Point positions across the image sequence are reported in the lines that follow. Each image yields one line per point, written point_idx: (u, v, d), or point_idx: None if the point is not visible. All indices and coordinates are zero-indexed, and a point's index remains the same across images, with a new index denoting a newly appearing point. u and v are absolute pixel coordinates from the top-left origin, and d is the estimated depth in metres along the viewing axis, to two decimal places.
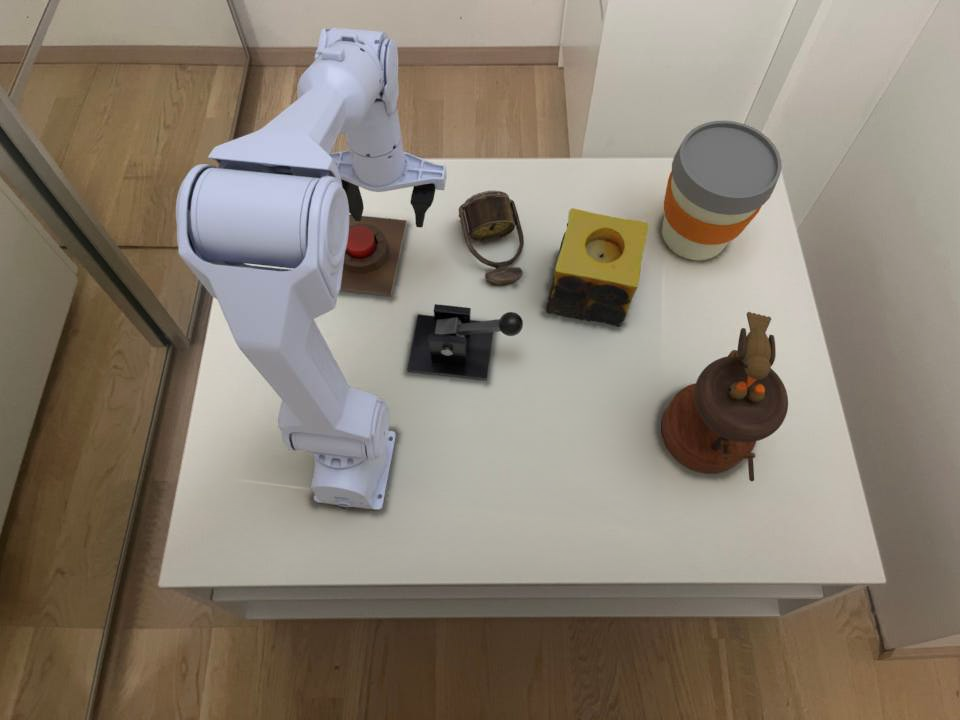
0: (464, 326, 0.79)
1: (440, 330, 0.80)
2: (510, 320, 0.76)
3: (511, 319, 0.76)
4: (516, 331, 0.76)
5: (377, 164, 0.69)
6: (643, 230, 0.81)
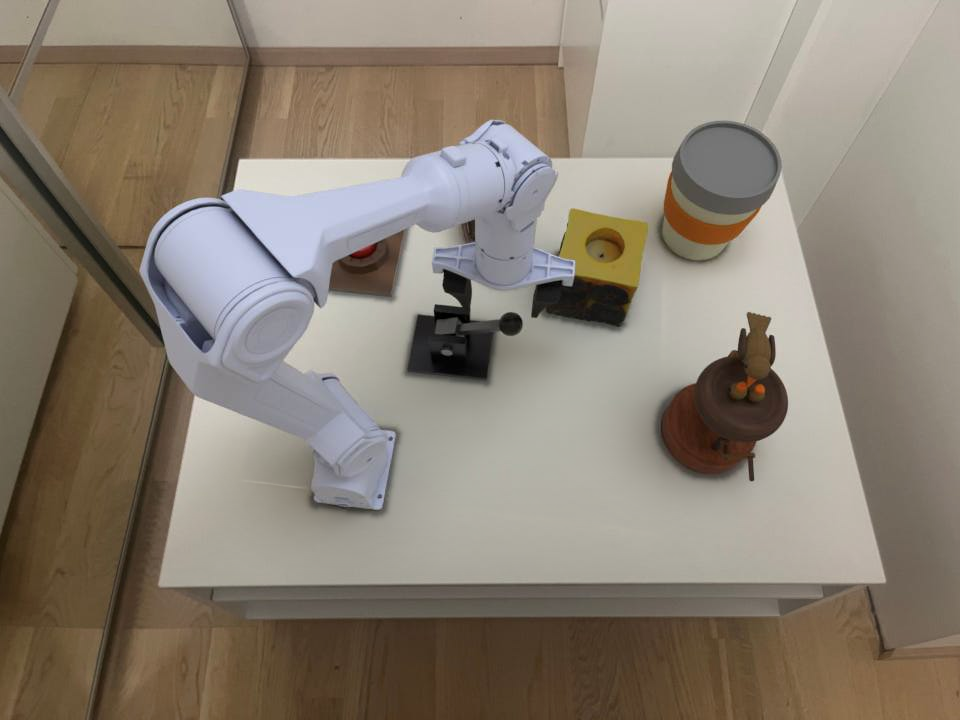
0: (464, 326, 0.79)
1: (440, 330, 0.80)
2: (510, 320, 0.76)
3: (511, 319, 0.76)
4: (516, 331, 0.76)
5: (509, 266, 0.63)
6: (643, 230, 0.81)
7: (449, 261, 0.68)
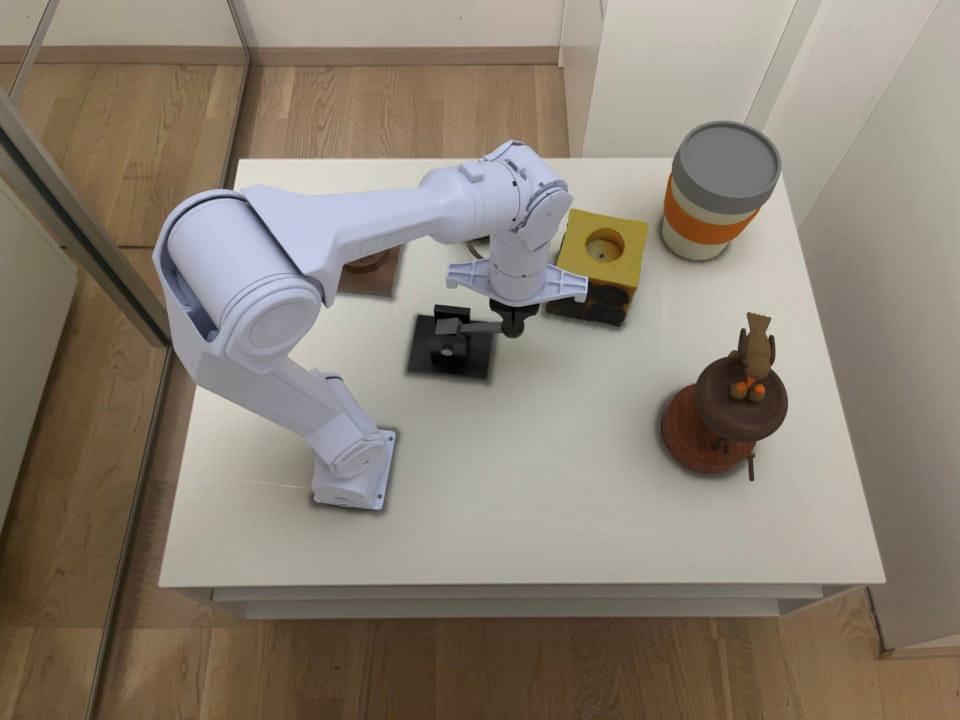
0: (465, 327, 0.80)
1: (441, 330, 0.80)
2: None
3: None
4: (518, 334, 0.77)
5: (523, 283, 0.64)
6: (643, 230, 0.81)
7: (463, 277, 0.69)
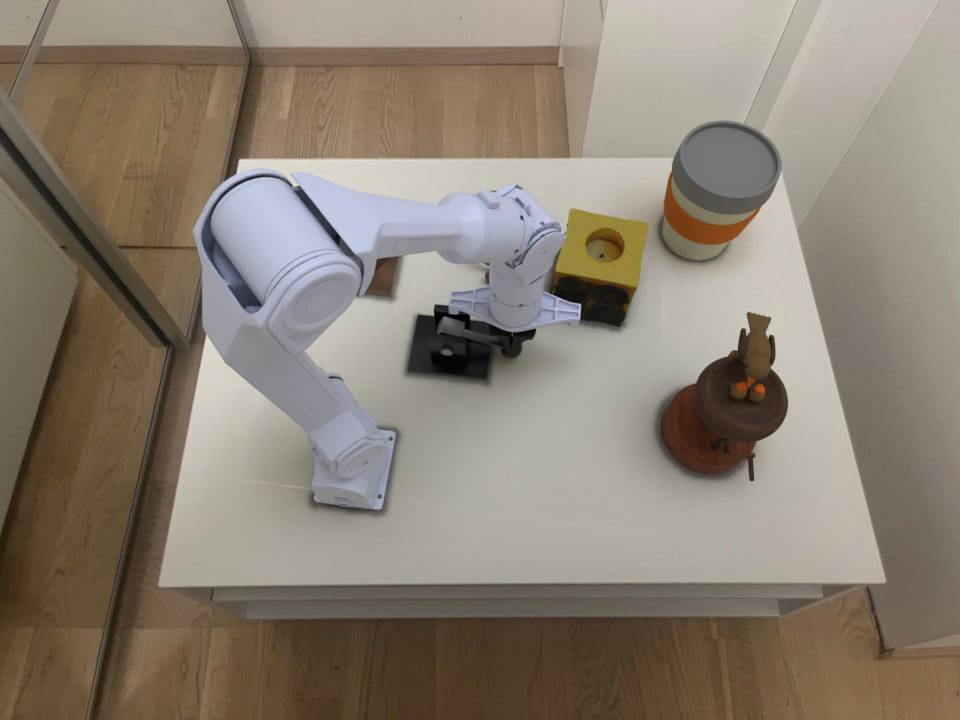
0: (468, 333, 0.81)
1: (447, 329, 0.79)
2: None
3: (519, 346, 0.82)
4: (516, 357, 0.83)
5: (520, 311, 0.69)
6: (643, 230, 0.81)
7: (464, 303, 0.74)
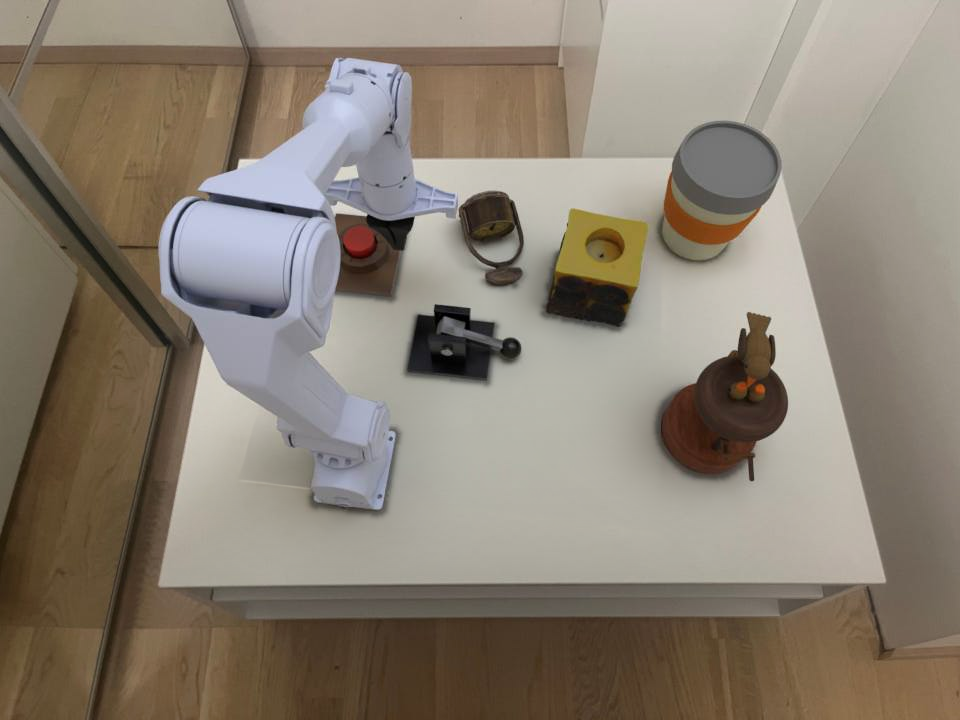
0: (468, 333, 0.81)
1: (448, 329, 0.79)
2: (517, 347, 0.82)
3: (519, 347, 0.82)
4: (515, 358, 0.83)
5: (388, 193, 0.68)
6: (643, 230, 0.81)
7: (340, 193, 0.73)
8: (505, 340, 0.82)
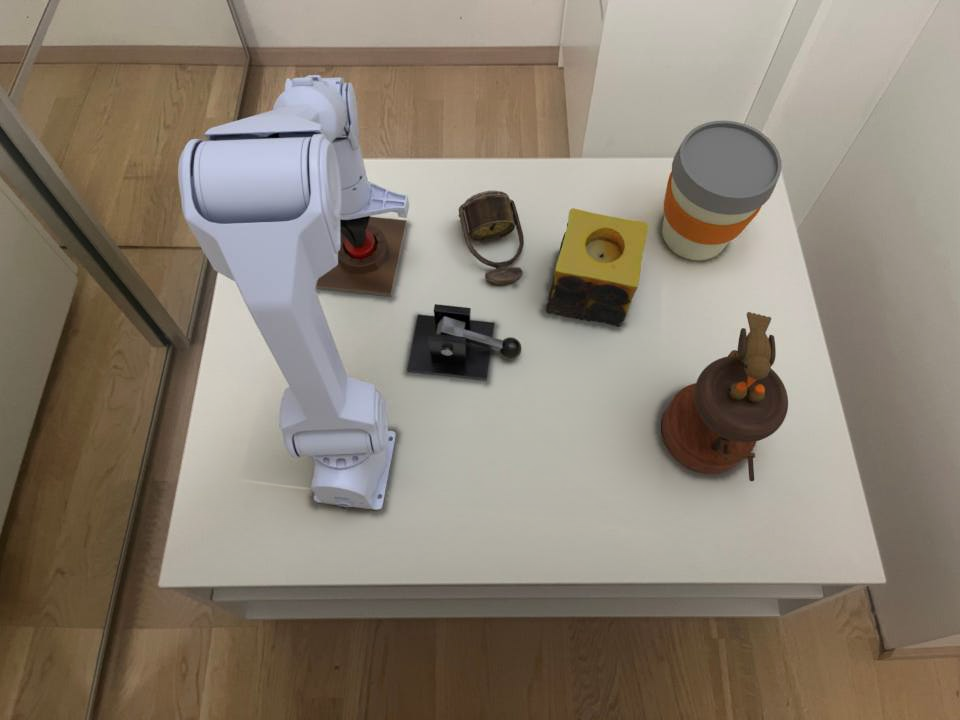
0: (468, 333, 0.81)
1: (448, 329, 0.79)
2: (517, 347, 0.82)
3: (519, 347, 0.82)
4: (515, 358, 0.83)
5: (342, 195, 0.76)
6: (643, 230, 0.81)
7: None
8: (505, 340, 0.82)
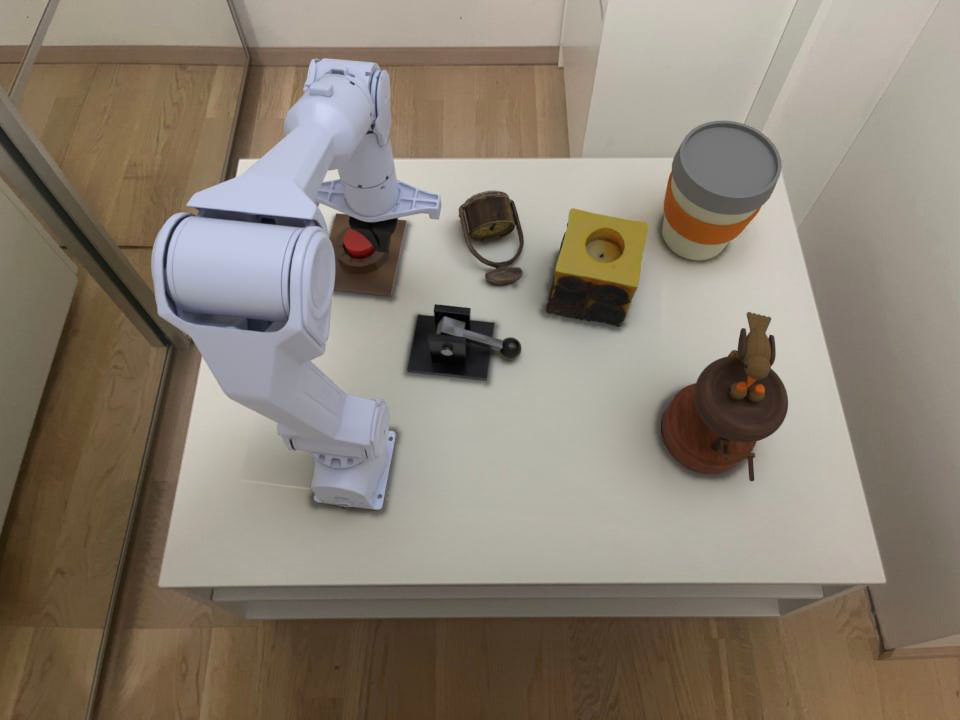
0: (468, 333, 0.81)
1: (448, 329, 0.79)
2: (517, 347, 0.82)
3: (519, 347, 0.82)
4: (515, 358, 0.83)
5: (369, 194, 0.67)
6: (643, 230, 0.81)
7: (322, 195, 0.72)
8: (505, 340, 0.82)
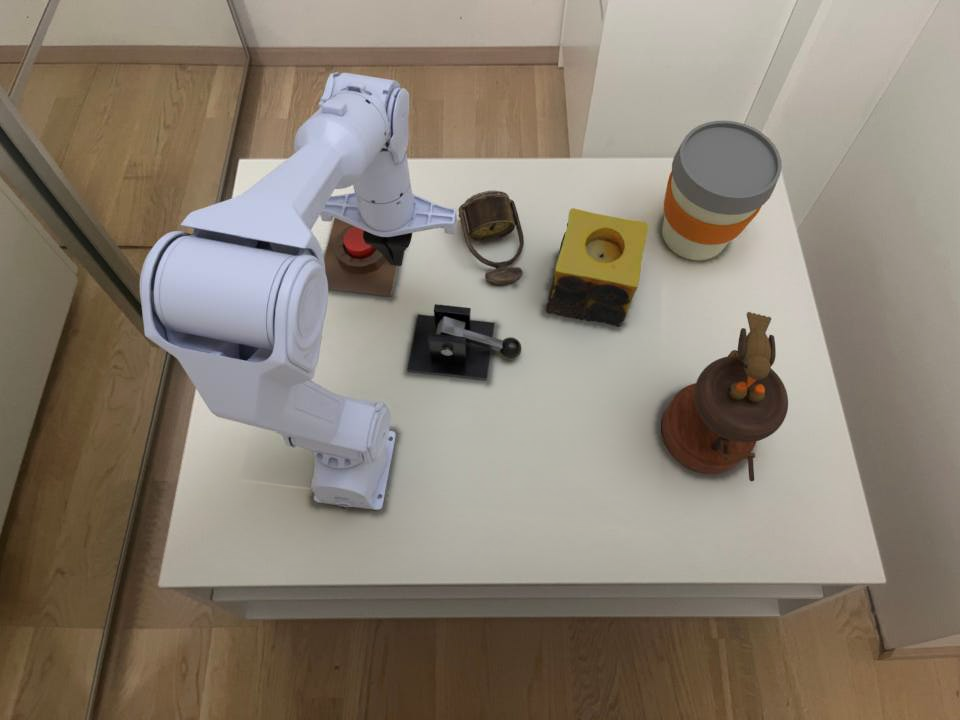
0: (468, 333, 0.81)
1: (448, 329, 0.79)
2: (517, 347, 0.82)
3: (519, 347, 0.82)
4: (515, 358, 0.83)
5: (385, 210, 0.66)
6: (643, 230, 0.81)
7: (336, 209, 0.71)
8: (505, 340, 0.82)
